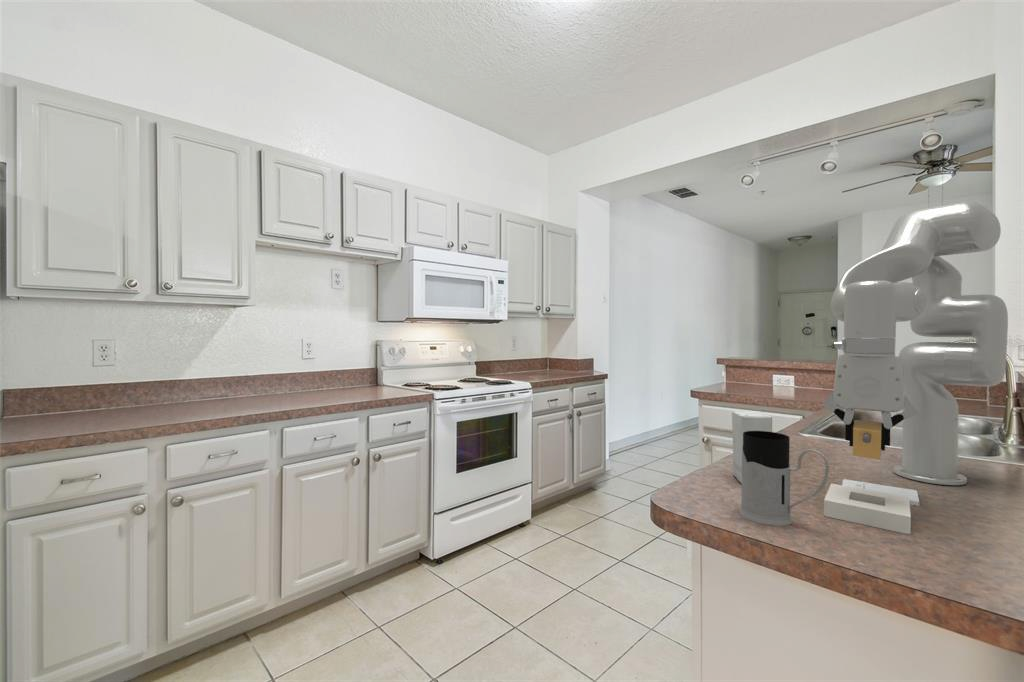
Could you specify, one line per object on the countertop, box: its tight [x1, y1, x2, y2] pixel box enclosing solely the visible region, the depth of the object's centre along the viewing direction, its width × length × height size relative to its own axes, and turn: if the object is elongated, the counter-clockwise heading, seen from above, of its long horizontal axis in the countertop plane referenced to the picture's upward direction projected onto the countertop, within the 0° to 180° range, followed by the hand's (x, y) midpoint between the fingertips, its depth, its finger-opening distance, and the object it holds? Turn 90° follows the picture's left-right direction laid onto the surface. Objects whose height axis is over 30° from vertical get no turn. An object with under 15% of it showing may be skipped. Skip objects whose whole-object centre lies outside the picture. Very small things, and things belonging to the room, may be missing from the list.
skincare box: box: [731, 410, 773, 485], centre depth 103 cm, size 8×7×16 cm
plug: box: [852, 419, 883, 461], centre depth 83 cm, size 6×4×6 cm
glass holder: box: [738, 431, 830, 527], centre depth 82 cm, size 9×14×15 cm, turn 41°
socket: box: [823, 482, 912, 535], centre depth 84 cm, size 12×12×3 cm
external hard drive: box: [841, 478, 920, 507], centre depth 95 cm, size 2×8×12 cm
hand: (867, 446), depth 84 cm, fingers closed on plug, 3 cm apart
